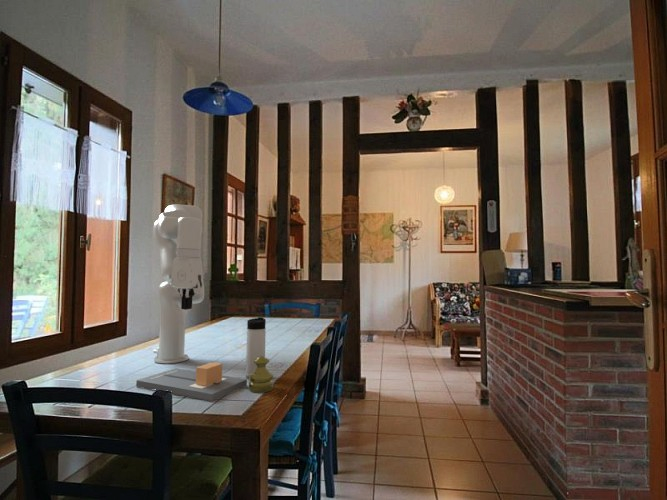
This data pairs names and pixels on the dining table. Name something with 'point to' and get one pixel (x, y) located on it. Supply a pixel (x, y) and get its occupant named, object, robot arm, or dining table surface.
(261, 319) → the travel mug
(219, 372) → the fader knob
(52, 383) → the dining table surface
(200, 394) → the fader console
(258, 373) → the olive metallic turned piece
